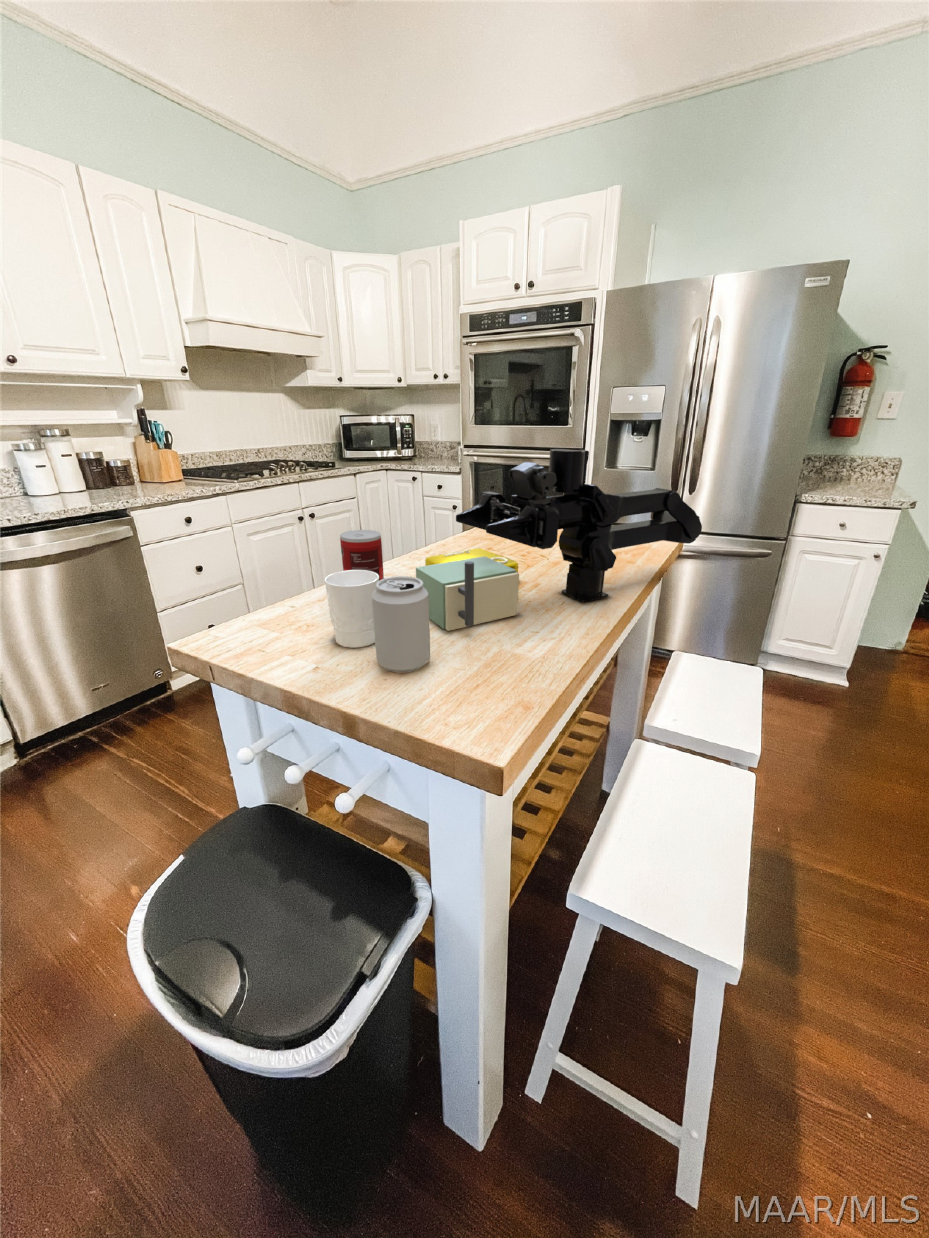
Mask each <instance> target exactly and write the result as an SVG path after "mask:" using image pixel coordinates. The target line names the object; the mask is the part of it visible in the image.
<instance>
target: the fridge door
mask: <svg viewBox="0 0 929 1238" xmlns="http://www.w3.org/2000/svg"><path fill="white" fill-rule="evenodd" d="M519 585H520V572H518V573H511V574H506V575H500V576H495V577H490V578H484V579H479V580H474V562H471V561H467V562H465V582H463V583H458V584H452V585H447V586H445V618H446V629H445V631H448V632H450V631H455V630H458V629H463V628H467V627H472V626H476V625H480V624H483V623H487V622H492V621H497V620H501V619H505V618H509V617H514V616H517V615H518V613H519V612H518V611H519V606H518V605H519V590H520V589H519V588H520V587H519Z"/></svg>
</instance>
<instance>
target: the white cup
mask: <svg viewBox="0 0 929 1238" xmlns="http://www.w3.org/2000/svg"><path fill="white" fill-rule="evenodd" d="M378 581H379V575H378V574H377V573H375V572H372V571H367V570H347V571H343V570H341V571H336V572H333V573H331V574H329V575H327V576H326V577H325V578H324V585H325V591H326V598H327V602H328V610H329V615H330V619H331V625H332V627H333V630H334V638H335V643H336V644H337V645H338V646H339V645H340V647H343V648H344V647H345V648H351V649H352V648H364V647H367V646H371V645H373V644H374V643H375V632H374V619H373V606H372V594H373V592H374V591H375V590H376V589H377V588H376V583H377V582H378Z"/></svg>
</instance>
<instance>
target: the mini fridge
mask: <svg viewBox="0 0 929 1238" xmlns="http://www.w3.org/2000/svg"><path fill="white" fill-rule="evenodd" d="M467 561H471V562H474V580H479V579H484V578H490V577H495V576H500V575H506V574H511V573H516V570H515V569H513V568H510V567H508V566H506V565H503V564H501V563H499V562H497V561H494V560H492V559H490V558H488V557H485V556H483V557H477V558H471V559H465V560H459V561H453V562H446V563H440V564H434V565H428V566H425V565H424V566H422V565H421V566H416V567H415V578H418V579H420V580H422V582H423V587H424V588H425V589H426V590H427V592H428V597H429V620H431V621H432V622H433V623H434V624H436V625H437V626H439V627H440V628H441V629H442V630H446V618H445V586H447V585H452V584H458V583H463V582H465V562H467Z"/></svg>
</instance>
